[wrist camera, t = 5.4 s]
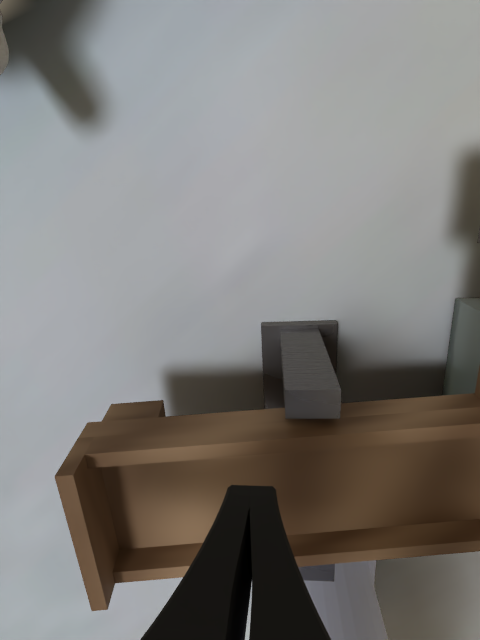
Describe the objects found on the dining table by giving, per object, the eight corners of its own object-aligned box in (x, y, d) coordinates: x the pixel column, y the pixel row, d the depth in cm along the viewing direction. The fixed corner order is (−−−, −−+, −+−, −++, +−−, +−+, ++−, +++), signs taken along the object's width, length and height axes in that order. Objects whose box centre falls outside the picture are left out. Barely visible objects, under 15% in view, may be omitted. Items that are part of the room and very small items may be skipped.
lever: (555, 123, 14) (733, 80, 9) (484, 475, 19) (573, 567, 14) (53, 151, 13) (-43, 123, 8) (125, 505, 18) (91, 610, 14)
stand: (335, 320, 19) (370, 384, 13) (331, 471, 22) (357, 585, 16) (261, 322, 20) (257, 385, 13) (267, 470, 23) (266, 582, 16)
